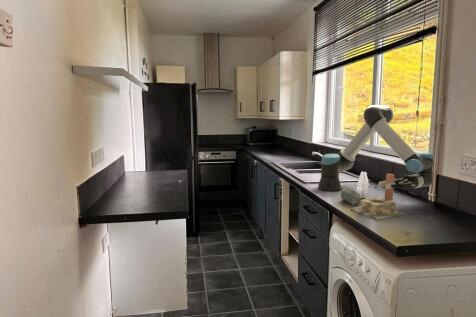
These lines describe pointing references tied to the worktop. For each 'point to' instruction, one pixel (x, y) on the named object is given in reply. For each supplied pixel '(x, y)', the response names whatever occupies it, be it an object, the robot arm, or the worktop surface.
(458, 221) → the worktop surface
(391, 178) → the peg
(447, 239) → the worktop surface
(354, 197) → the green striped ellipsoid
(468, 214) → the worktop surface
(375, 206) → the socket
